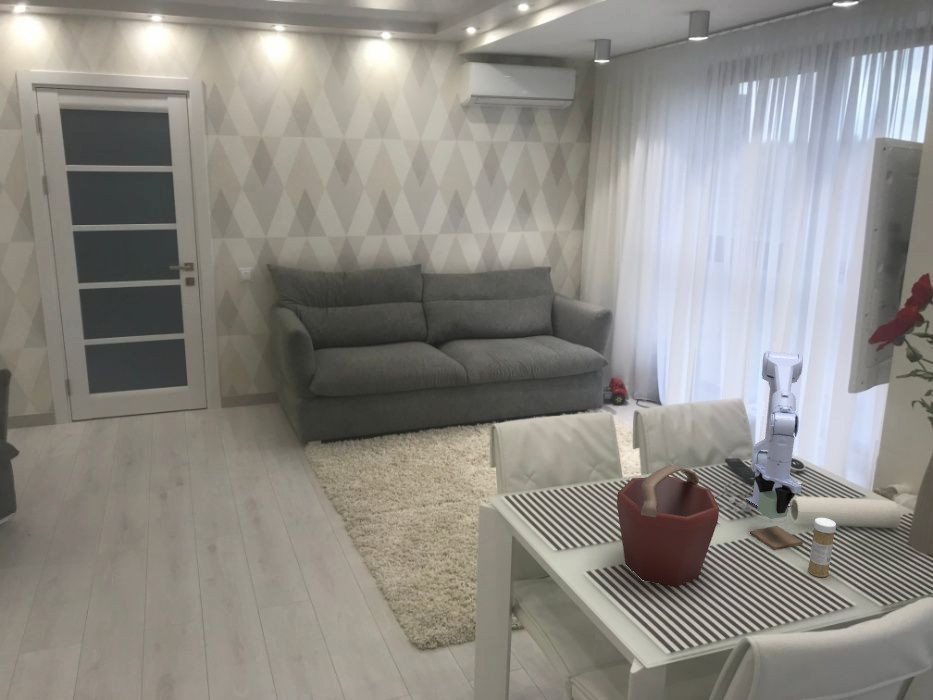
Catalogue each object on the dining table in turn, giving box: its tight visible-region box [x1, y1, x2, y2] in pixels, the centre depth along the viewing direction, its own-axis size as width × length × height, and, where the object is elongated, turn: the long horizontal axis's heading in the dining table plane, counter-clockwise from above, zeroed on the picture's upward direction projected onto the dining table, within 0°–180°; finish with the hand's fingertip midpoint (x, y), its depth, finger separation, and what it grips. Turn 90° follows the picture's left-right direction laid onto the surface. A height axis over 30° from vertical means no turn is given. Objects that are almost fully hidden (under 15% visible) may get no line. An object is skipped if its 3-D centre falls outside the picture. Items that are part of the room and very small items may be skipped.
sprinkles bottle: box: [807, 517, 837, 578], centre depth 174 cm, size 5×5×13 cm
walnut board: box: [749, 525, 804, 551], centre depth 192 cm, size 9×9×1 cm
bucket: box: [616, 464, 720, 588], centre depth 175 cm, size 24×22×25 cm
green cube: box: [756, 490, 789, 520], centre depth 190 cm, size 5×5×5 cm
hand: (773, 507), depth 191 cm, fingers closed on green cube, 5 cm apart
